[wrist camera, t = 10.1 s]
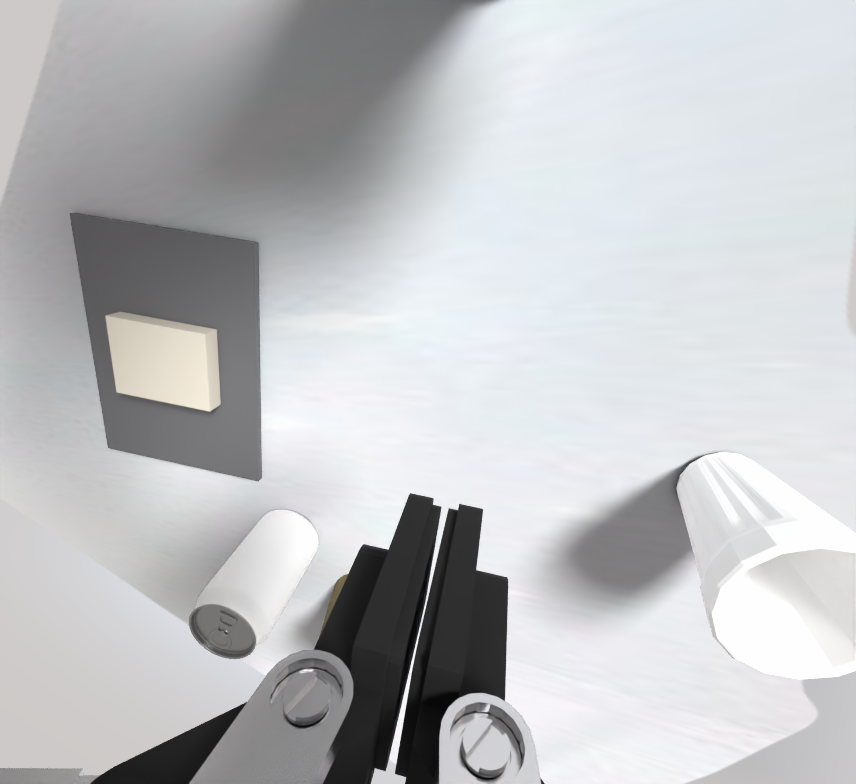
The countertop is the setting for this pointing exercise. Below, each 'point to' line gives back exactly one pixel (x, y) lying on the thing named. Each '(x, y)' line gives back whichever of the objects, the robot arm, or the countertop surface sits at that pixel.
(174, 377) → the tile
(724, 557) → the cup
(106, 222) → the mat
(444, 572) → the robot arm
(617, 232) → the countertop surface
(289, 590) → the can
